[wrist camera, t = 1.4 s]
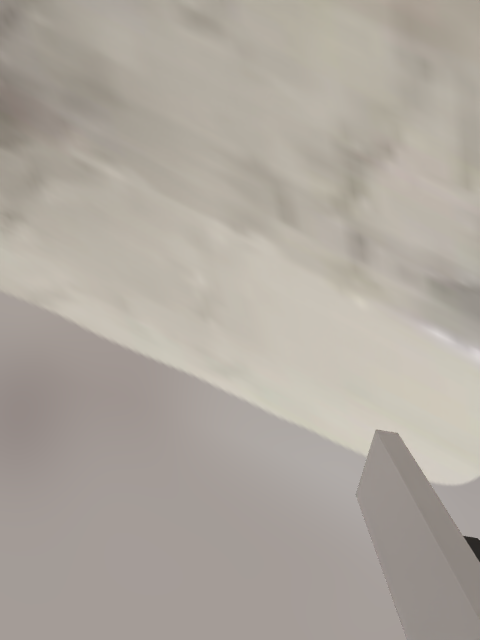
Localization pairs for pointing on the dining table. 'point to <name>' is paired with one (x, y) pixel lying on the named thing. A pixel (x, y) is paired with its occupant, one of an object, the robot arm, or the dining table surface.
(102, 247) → the dining table surface
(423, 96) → the dining table surface
